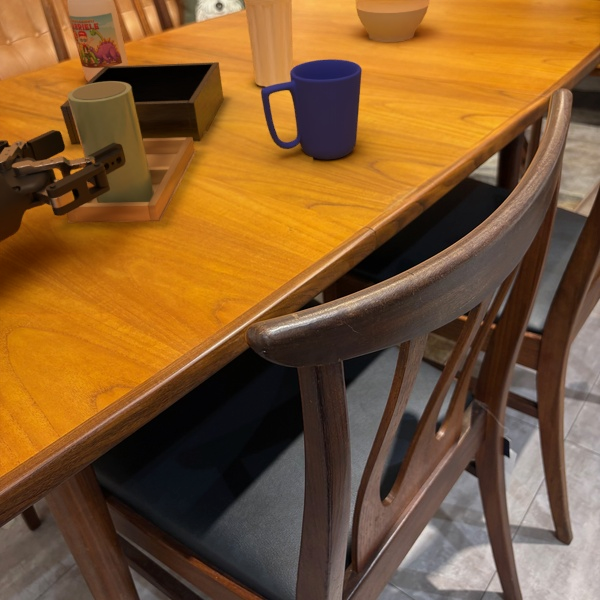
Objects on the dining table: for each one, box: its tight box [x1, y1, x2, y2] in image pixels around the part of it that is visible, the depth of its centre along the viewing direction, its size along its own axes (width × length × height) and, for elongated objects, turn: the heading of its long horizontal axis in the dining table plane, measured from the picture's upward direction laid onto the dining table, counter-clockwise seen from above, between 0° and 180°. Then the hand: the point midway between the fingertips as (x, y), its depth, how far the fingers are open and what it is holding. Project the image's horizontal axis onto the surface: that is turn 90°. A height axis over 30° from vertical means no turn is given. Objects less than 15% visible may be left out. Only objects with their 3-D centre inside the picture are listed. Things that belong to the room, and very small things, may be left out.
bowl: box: [355, 0, 430, 43], centre depth 117 cm, size 16×16×9 cm
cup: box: [243, 0, 294, 88], centre depth 95 cm, size 8×8×14 cm
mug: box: [260, 58, 363, 160], centre depth 73 cm, size 8×12×10 cm
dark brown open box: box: [59, 61, 225, 145], centre depth 87 cm, size 18×18×6 cm
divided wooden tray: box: [66, 137, 197, 223], centre depth 70 cm, size 10×18×2 cm, turn 176°
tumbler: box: [66, 81, 155, 203], centre depth 64 cm, size 6×6×12 cm
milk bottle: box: [66, 0, 130, 82], centre depth 101 cm, size 8×8×20 cm
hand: (90, 145), depth 61 cm, fingers open, 8 cm apart
